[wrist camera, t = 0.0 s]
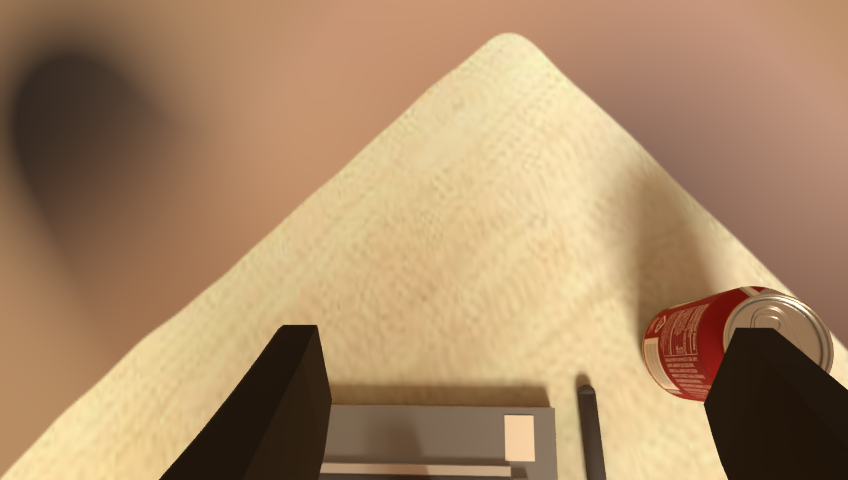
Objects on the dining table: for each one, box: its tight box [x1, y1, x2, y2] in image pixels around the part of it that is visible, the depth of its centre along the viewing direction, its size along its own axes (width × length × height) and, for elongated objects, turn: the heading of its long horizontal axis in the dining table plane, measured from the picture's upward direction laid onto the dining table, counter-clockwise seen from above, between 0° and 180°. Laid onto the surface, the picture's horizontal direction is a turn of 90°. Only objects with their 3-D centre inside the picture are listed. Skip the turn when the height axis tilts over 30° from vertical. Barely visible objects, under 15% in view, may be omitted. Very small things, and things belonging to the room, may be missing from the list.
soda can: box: [642, 286, 834, 402], centre depth 35 cm, size 7×7×12 cm
